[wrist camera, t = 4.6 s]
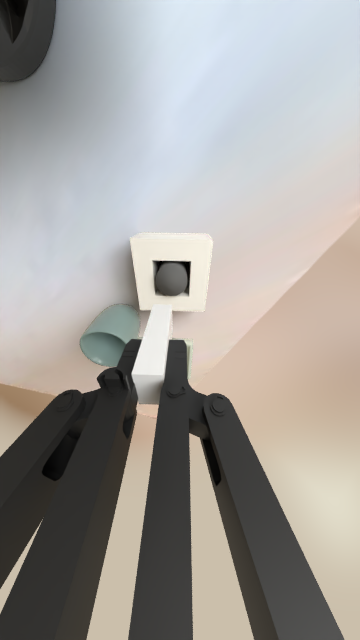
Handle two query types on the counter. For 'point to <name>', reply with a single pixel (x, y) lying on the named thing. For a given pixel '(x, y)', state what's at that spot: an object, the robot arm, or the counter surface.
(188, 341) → the tray
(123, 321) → the cup
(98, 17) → the counter surface
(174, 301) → the housing
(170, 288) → the grey oval solid
